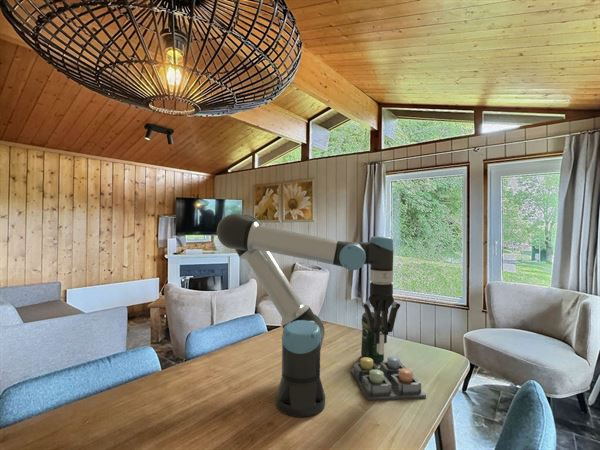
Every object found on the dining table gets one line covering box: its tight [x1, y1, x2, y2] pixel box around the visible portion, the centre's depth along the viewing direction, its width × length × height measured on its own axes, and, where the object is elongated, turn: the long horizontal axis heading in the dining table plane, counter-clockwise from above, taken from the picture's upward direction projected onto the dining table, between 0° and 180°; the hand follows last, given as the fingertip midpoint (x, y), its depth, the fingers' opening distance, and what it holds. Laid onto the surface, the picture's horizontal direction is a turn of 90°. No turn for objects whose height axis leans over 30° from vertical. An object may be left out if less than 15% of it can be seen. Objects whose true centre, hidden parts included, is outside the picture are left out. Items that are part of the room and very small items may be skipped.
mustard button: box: [360, 357, 373, 370], centre depth 114 cm, size 4×4×3 cm
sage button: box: [370, 369, 383, 384], centre depth 105 cm, size 4×4×3 cm
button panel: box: [350, 361, 427, 401], centre depth 110 cm, size 19×20×4 cm
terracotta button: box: [399, 368, 414, 383], centre depth 106 cm, size 4×4×3 cm
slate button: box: [386, 356, 401, 369], centre depth 116 cm, size 4×4×3 cm
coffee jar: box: [360, 311, 385, 364], centre depth 131 cm, size 10×8×19 cm
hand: (380, 352), depth 107 cm, fingers closed
